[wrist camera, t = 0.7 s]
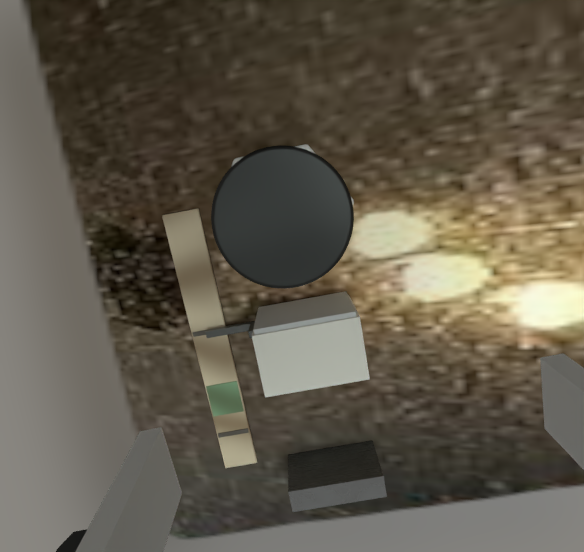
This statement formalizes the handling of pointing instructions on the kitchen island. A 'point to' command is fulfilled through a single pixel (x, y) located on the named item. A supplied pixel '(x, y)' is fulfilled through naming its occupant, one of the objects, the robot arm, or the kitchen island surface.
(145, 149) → the kitchen island surface
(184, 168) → the kitchen island surface
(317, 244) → the jar
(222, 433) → the strip
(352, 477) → the two-tone gray brick
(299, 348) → the carriage
